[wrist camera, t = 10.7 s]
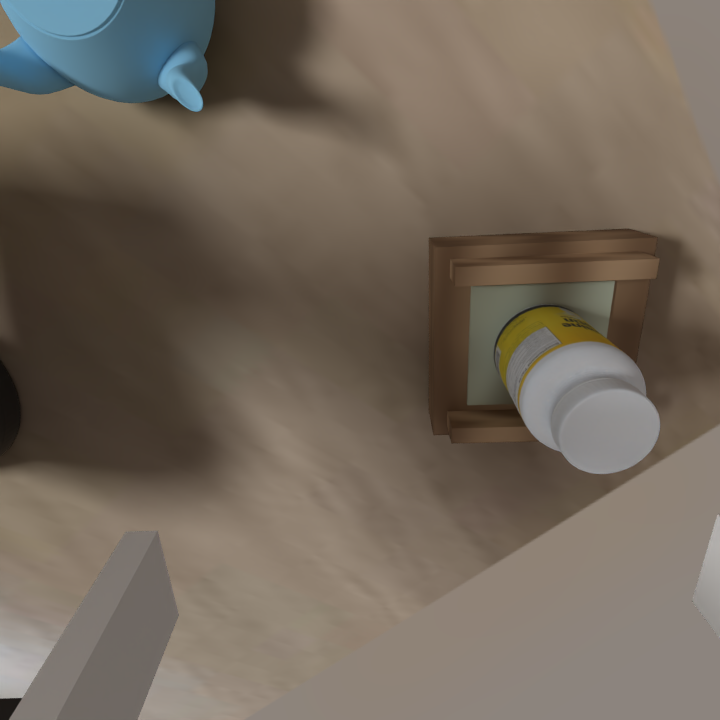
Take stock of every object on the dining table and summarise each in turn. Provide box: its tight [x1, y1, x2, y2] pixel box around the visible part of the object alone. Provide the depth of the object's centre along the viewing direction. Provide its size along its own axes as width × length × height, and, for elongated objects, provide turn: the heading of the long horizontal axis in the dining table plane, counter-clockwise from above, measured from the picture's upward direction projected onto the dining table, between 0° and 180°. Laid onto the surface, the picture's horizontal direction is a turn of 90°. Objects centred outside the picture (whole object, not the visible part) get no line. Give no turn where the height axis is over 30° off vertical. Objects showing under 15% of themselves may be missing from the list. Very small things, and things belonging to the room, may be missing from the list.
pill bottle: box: [493, 304, 660, 474], centre depth 29 cm, size 6×6×12 cm
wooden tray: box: [429, 229, 660, 443], centre depth 35 cm, size 14×14×6 cm
